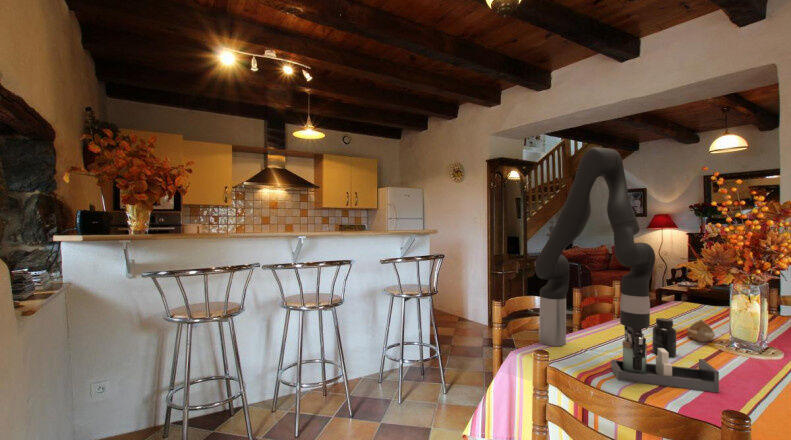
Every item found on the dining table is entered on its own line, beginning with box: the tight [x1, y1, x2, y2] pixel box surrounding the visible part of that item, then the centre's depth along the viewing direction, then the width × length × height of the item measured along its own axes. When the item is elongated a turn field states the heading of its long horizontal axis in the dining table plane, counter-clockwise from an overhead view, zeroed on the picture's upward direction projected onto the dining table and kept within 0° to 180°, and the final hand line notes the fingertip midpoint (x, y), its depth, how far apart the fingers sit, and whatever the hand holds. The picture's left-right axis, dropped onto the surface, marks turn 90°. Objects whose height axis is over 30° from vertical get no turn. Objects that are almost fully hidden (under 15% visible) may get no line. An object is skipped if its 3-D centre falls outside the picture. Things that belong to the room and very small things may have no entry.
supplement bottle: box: [651, 317, 677, 358], centre depth 134 cm, size 7×7×12 cm
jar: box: [622, 339, 648, 373], centre depth 115 cm, size 6×6×8 cm
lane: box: [610, 358, 720, 393], centre depth 113 cm, size 24×10×6 cm, turn 71°
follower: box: [655, 348, 673, 376], centre depth 113 cm, size 2×7×8 cm, turn 161°
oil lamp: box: [686, 319, 716, 343], centre depth 151 cm, size 9×21×10 cm, turn 143°
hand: (634, 365), depth 115 cm, fingers closed on jar, 6 cm apart
